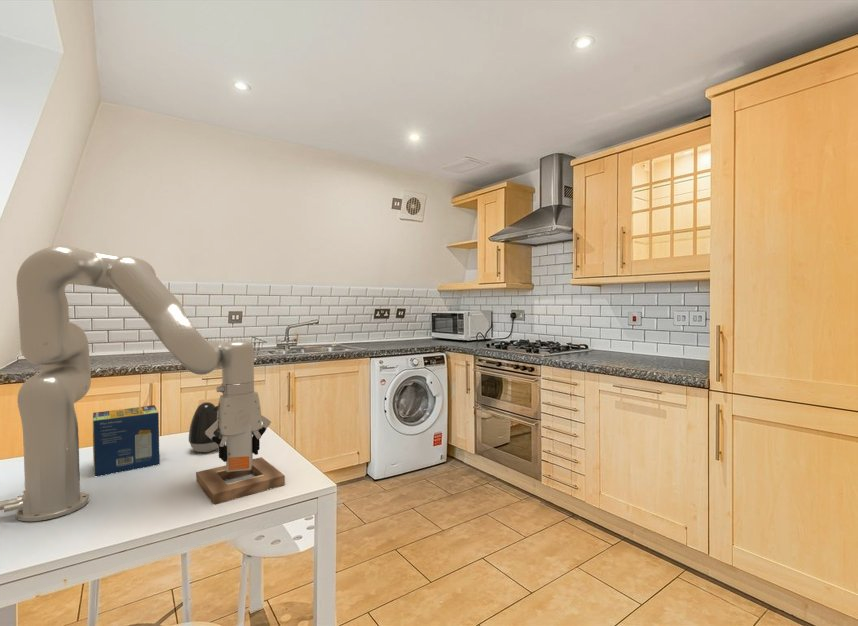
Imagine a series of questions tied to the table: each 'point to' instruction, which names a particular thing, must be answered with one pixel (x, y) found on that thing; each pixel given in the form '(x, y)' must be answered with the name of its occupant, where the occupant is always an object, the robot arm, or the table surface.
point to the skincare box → (240, 451)
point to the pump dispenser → (203, 428)
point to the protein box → (125, 439)
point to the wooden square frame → (222, 492)
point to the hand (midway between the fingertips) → (239, 456)
